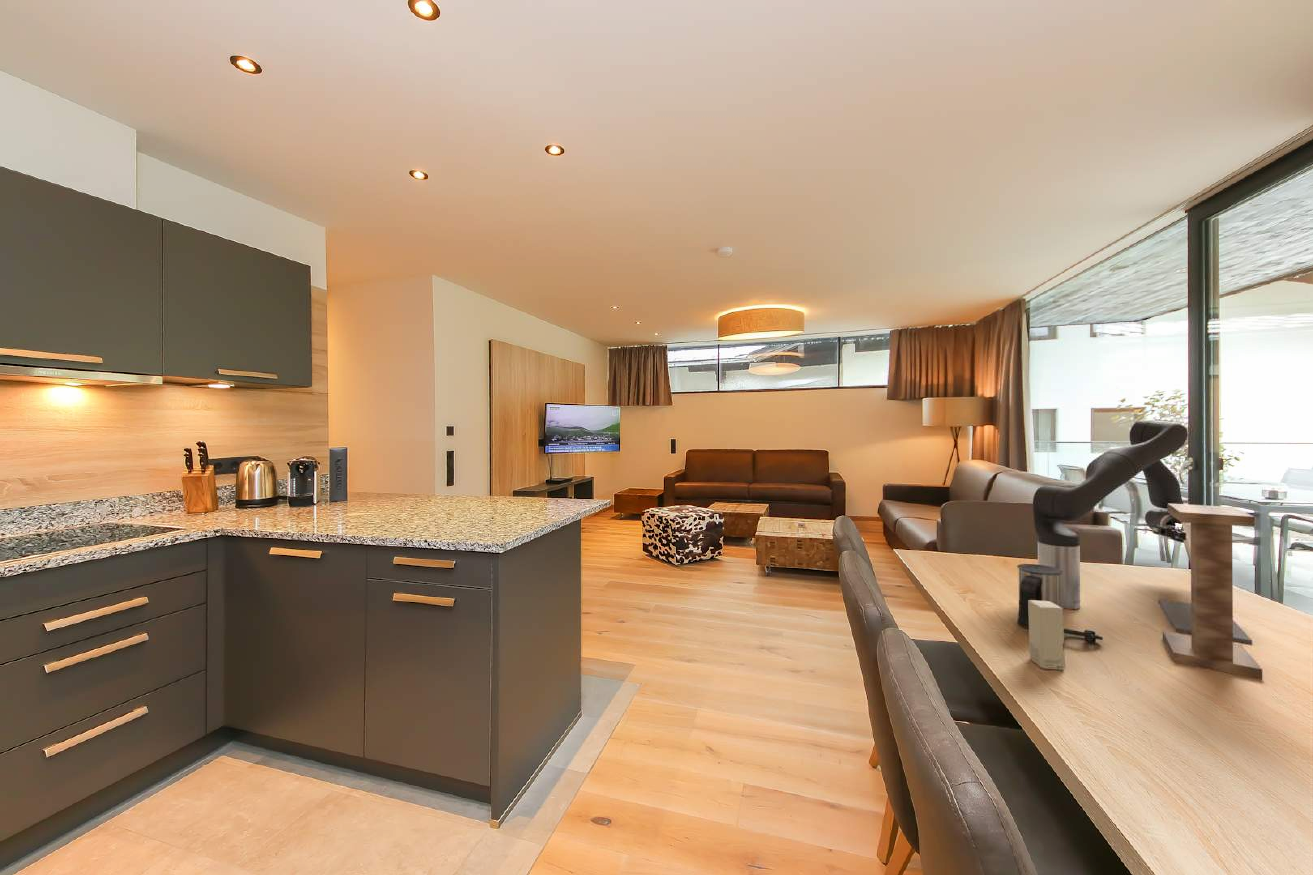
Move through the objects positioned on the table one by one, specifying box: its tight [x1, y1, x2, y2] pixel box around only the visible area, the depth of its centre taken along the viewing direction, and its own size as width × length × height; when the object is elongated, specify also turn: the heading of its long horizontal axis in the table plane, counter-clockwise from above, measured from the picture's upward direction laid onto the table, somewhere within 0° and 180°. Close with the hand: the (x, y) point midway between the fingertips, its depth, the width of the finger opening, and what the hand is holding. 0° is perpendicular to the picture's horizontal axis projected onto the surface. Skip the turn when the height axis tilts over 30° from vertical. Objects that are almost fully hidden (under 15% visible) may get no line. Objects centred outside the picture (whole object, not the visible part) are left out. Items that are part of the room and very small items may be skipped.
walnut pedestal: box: [1162, 503, 1263, 680], centre depth 104 cm, size 12×15×32 cm
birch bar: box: [1181, 522, 1191, 565], centre depth 126 cm, size 3×24×3 cm, turn 141°
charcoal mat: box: [1157, 598, 1253, 645], centre depth 125 cm, size 12×26×1 cm, turn 141°
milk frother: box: [1016, 563, 1104, 643], centre depth 119 cm, size 14×16×15 cm
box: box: [1028, 600, 1066, 671], centre depth 103 cm, size 5×4×13 cm
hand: (1194, 536), depth 129 cm, fingers closed on birch bar, 3 cm apart
